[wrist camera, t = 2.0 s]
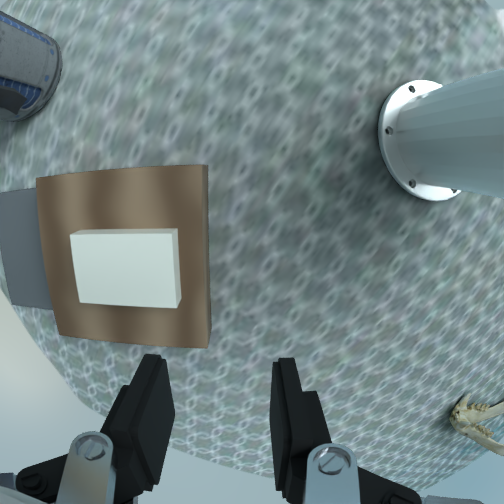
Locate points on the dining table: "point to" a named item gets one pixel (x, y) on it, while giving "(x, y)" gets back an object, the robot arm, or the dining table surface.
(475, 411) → the jawbone
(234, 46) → the dining table surface
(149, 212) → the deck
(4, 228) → the mat
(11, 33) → the beverage bottle
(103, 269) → the pale grey flat tile
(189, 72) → the dining table surface
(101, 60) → the dining table surface
